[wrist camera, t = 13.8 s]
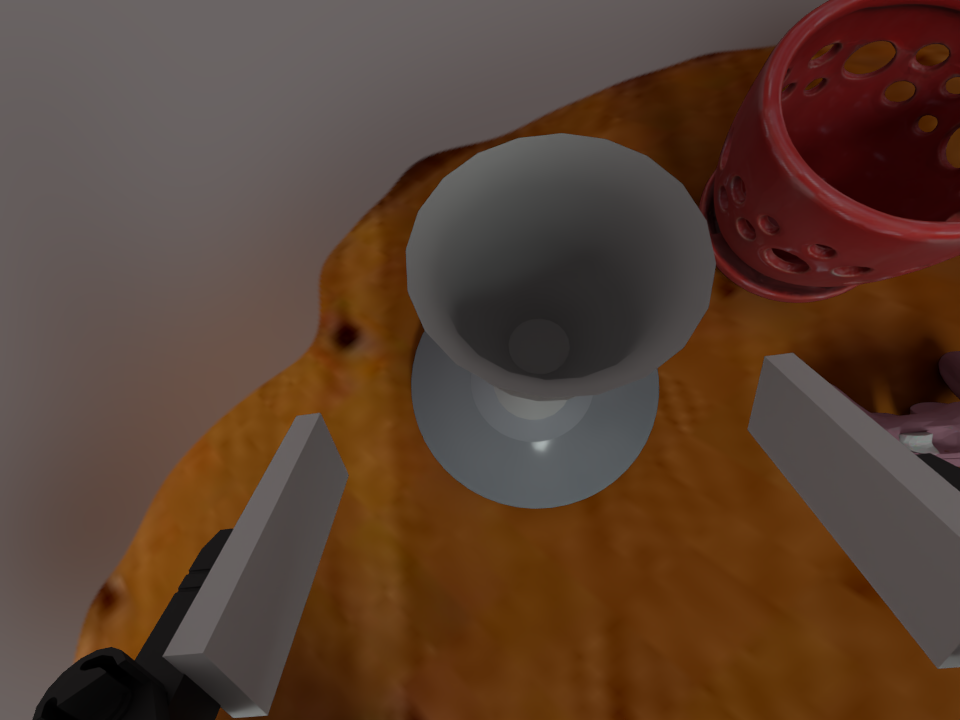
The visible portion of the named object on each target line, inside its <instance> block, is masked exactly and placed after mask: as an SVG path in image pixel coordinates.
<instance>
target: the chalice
mask: <svg viewBox="0 0 960 720" xmlns="http://www.w3.org/2000/svg"><path fill="white" fill-rule="evenodd" d="M406 265H407V285H408V293H409V296H410V298H411V300H412V302H413V305H414V307H415V309H416V312H417V314H418V316H419V318H420V321H421V323H422V325H423V328H424V330H425V332H426V333H427V334H428V335H429V336H430V337H431V338H432V339H433V340H434V341H435V342H436V343H437V344H438V345H439V346H440V348H441V349H442V350H443V351H444V352H445V353H446V354H447V355H448V356H449V357H450V358H451V359H452V360H453V361H454V362H455V364H457V365H459V366H460V367H462V368H464V369H466V370H468V371H469V372H471V373H473V374H475V375H477V376H478V377H480V378H482V379H484V380H485V381H486V382H488V383H489V384H491V385H493V386H494V391H495V393H496V395H497V398H498V400H499V402H500V403H501V404H502V405H503V406H504V408H505V409H506V410H507V411H509V412H510V413H512V414H514V415H515V416H517V417H520V418H524V419H528V420H537V419H544V418H546V417H549V416H551V415H554V414H555V413H556V412H558V411H559V410H560V409H561V408H562V407H563V406H564V405H565V403H566V401H567V400H568V399H571V398H574V397H576V396H588V395H599V394H602V393H604V392H607V391H610V390H612V389H615V388H618V387H621V386H623V385H626V384H629V383H632V382H634V381H637V380H640V379H643V378H645V377H647V376H648V375H649V374H650V373H652V372H653V371H654V370H655V369H657V368H658V367H659V366H661V365H662V364H663V363H664V362H666V361H667V360H668V359H670V358H671V357H672V356H673V355H675V354H676V353H677V352H678V351H680V350H681V349H682V348H684V346H685V345H686V343H687V341H688V340H689V338H690V337H691V335H692V333H693V332H694V330H695V329H696V327H697V325H698V324H699V322H700V320H701V319H702V317H703V316H704V314H705V312H706V311H707V309H708V307H709V302H710V296H711V290H712V284H713V279H714V273H715V267H716V261H715V256H714V252H713V247H712V243H711V238H710V234H709V229H708V225H707V220H706V219H705V217H704V216H703V214H702V213H701V211H700V210H699V208H698V207H697V205H696V204H695V202H694V201H693V199H692V198H691V196H690V195H689V193H688V191H687V190H686V188H685V187H684V185H683V184H682V183H681V182H680V181H678V180H677V179H676V178H675V177H673V176H672V175H671V174H669V173H668V172H667V171H666V170H664V169H663V168H662V167H661V166H659V165H658V164H657V163H656V162H654V161H653V160H652V159H651V158H649V157H648V156H646V155H643V154H641V153H639V152H636V151H634V150H631V149H629V148H626V147H624V146H621V145H619V144H617V143H614V142H612V141H609V140H607V139H601V138H593V137H586V136H578V135H571V134H564V133H560V134H551V135H542V136H533V137H524V138H517V139H515V140H512V141H509V142H507V143H504V144H501V145H499V146H496V147H493V148H491V149H488V150H485V151H483V152H480V153H477V154H476V155H475V156H473V157H472V158H471V159H469V160H468V161H466V162H465V163H464V164H462V165H461V166H459V167H458V168H457V169H455V170H454V171H453V172H451V173H450V174H448V175H447V176H446V177H444V178H443V179H442V181H441V182H440V183H439V185H438V186H437V187H436V189H435V190H434V191H433V193H432V194H431V195H430V197H429V198H428V199H427V201H426V202H425V203H424V205H423V206H422V207H421V208H420V210H419V211H418V214H417V217H416V220H415V223H414V226H413V230H412V233H411V236H410V239H409V242H408V245H407V248H406Z"/></svg>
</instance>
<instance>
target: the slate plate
mask: <svg viewBox="0 0 960 720" xmlns="http://www.w3.org/2000/svg"><path fill="white" fill-rule="evenodd" d="M411 388H412V401H413V407H414V413H415V416H416V420H417V423H418V426H419V429H420V431H421V433H422V436H423V438H424V440H425V442H426V444H427V446H428V447H429V449H430V450H431V452H432V454H433V455H434V457H435V458H436V459H437V460H438V461H439V463H440V464H441V465H442V466H443V468H444V469H445V470H446V471H447V472H448V473H450V474H451V475H452V476H453V477H454V478H455V479H456V480H457V481H459V482H460V483H461V484H463V485H464V486H466V487H467V488H468V489H470V490H472V491H474V492H475V493H477V494H479V495H481V496H483V497H485V498H488V499H490V500H493V501H496V502H498V503H501V504H506V505H510V506H515V507H522V508H534V509H535V508H552V507H558V506H563V505H568V504H571V503H574V502H577V501H580V500H583V499H586V498H588V497H590V496H592V495H594V494H596V493H597V492H599V491H601V490H603V489H604V488H605V487H607V486H608V485H610V484H611V483H613V482H614V481H615V480H616V479H617V478H618V477H620V476H621V475H622V474H623V473H624V472H625V471H626V470H627V469H628V468H629V466H630V465H631V464H632V463H633V462H634V460H635V459H636V458H637V457H638V455H639V453H640V452H641V450H642V448H643V447H644V445H645V443H646V441H647V439H648V437H649V434H650V432H651V430H652V427H653V424H654V420H655V416H656V412H657V406H658V398H659V377H658V370H657V369H655V370H654V371H653V372H652V373H650V374H649V375H648V376H647V377H645V378H643V379H640V380H637V381H634V382H632V383H629V384H626V385H623V386H621V387H618V388H615V389H612V390H610V391H607V392H604V393H602V394H599V395H588V396H576V397H574V398H571V399H568V400H567V401H566V403H565V405H564V406H563V407H562V408H561V409H560V410H559V411H558V412H556V413H555V414H554V415H551V416H549V417H546V418H544V419H537V420H528V419H524V418H520V417H517V416H515V415H514V414H512V413H510V412H509V411H507V410H506V409H505V408H504V406H503V405H502V404H501V403H500V402H499V400H498V398H497V395H496V393H495V391H494V386H493V385H491V384H489V383H488V382H486V381H485V380H484V379H482V378H480V377H478V376H477V375H475V374H473V373H471V372H469V371H468V370H466V369H464V368H462V367H460V366H459V365H457V364H455V362H454V361H453V360H452V359H451V358H450V357H449V356H448V355H447V354H446V353H445V352H444V351H443V350H442V349H441V348H440V346H439V345H438V344H437V343H436V342H435V341H434V340H433V339H432V338H431V337H430V336H429V335H428V334H427V333H426V332H425V331H424V333H423V335H422V337H421V340H420V342H419V345H418V348H417V350H416V354H415V359H414V363H413V369H412V379H411Z"/></svg>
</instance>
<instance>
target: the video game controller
mask: <svg viewBox="0 0 960 720" xmlns="http://www.w3.org/2000/svg"><path fill="white" fill-rule="evenodd" d="M938 364H939V371H940V375H941V376H942V378H943V380H944V382H945V383H946V384H947V386H948V387H949V388H950V390H951V391H952V392H953V393H954V394H955V395H956V396H957V397H958V398H959V399H960V351H955V352H949V353H946V354H944V355H943V356H942V357H941V359H940V361H939V363H938ZM831 385H832V384H831ZM832 386H833V387H834V388H836V389H837V390H838V391H839V392H840V393H842V394H843V395H844V396H845V397H846V398H848V399H849V400H850V401H851V402H852V403H854V404H855V405H856V406H857V407H859V408H860V409H861V410H862V411H863V412H865V413H866V414H867V415H868V416H869V417H871V418H872V419H873V420H874V421H875V422H877V423H878V424H879V425H880V426H881V427H883V428H884V429H885V430H886V431H887V432H889V433H890V434H891V435H892V436H893V437H895V438H896V439H897V440H898V441H899V442H901V443H902V444H903V445H904V446H905V447H907V448H908V449H909V450H910V451H911V452H913V453H914V454H924V453H931V454H933V455H935V456H937V457H939V458H941V459H943V460H945V461H947V462H949V463H951V464H953V465H955V466H957V467H960V402H954V403H950V404H945V403H937V402H925V403H918V404H915V405H913V406H911V407H910V415H902V416H897V415H894V414H888V413H870V412H868V411H867V410H866V409H864V408H863V407H861V406H860V405H858V404H857V403H856V402H854V401H853V400H852V399H851V398H850V397H848V396H847V395H846V394H845V393H844V392H842V391H841V390H840V389H838V388H837V387H836V386H834V385H832Z"/></svg>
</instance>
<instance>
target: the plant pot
mask: <svg viewBox="0 0 960 720" xmlns="http://www.w3.org/2000/svg"><path fill="white" fill-rule="evenodd" d="M875 41H888V42H890V43H892V45H893V46H894V48H895V49H896V54H895V56H894V57H893V58H892V60H891V61H890V62H889V63H888V64H886V65H885V66H884V67H882V68H880V69H878V70H876V71H874V72H871V73H867V74H852V73H849V72H848V71H846V70H845V69H844V64H845V62H846V60H847V59H848V58H849V57H850V55H851V54H853V53H854V52H855V51H856V50H858V49H859V48H861V47H862V46H864V45H866V44H868V43H871V42H875ZM830 44H834V46H833V47H832V48H831V49H830V50H829V51H828V52H827V53H825V54H824V55H822V56H821V57H818V58H816V59H814V60H811V58H812V57H813V56H814V55H815V54H816V53H817V52H818V51H819V50H820V49H822V48H823V47H825V46H827V45H830ZM930 44H942V45H944V46H946V47H947V48H948V49H949V53H950V54H949V56H948V58H947V59H946V60H945V61H943V62H942V63H939V64H937V65H934V66H924V65H921V64H919V63H918V62H917V61H916V54H917V52H918V51H919V50H920V49H921V48H923V47H925V46H927V45H930ZM953 77H960V0H829V1H827V2H825V3H824V4H822V5H821V6H819V7H817V8H816V9H814V10H813V11H811V12H810V13H809V14H807V15H806V16H804V17H803V18H802V19H801V20H800V21H799V22H797V23H796V24H795V25H794V26H793V27H792V28H791V29H790V30H789V31H788V32H787V33H786V34H785V36H784V37H783V38H782V39H781V40H780V42H779V43H778V44H777V46H776V47H775V48H774V50H773V52H772V53H771V55H770V56H769V58H768V59H767V61H766V63H765V65H764V66H763V68H762V70H761V71H760V73H759V75H758V76H757V78H756V80H755V81H754V83H753V85H752V87H751V88H750V90H749V92H748V94H747V95H746V97H745V99H744V101H743V103H742V105H741V107H740V109H739V110H738V113H737V115H736V117H735V119H734V121H733V123H732V125H731V128H730V130H729V132H728V135H727V137H726V140H725V143H724V145H723V148H722V151H721V154H720V158H719V161H718V165H717V169H716V170H715V171H714V173H713V174H712V176H711V177H710V179H709V180H708V182H707V184H706V186H705V188H704V190H703V193H702V197H701V200H700V205H699V210H700V211H701V213H702V214H703V216H704V217H705V219H706V220H707V225H708V229H709V234H710V238H711V243H712V247H713V252H714V256H715V261H716V266H717V268H718V269H719V270H720V271H721V272H722V273H723V274H724V275H725V276H726V277H727V278H729V279H730V280H731V281H733V282H734V283H735V284H737V285H739V286H740V287H742V288H743V289H745V290H747V291H749V292H751V293H753V294H756V295H758V296H761V297H764V298H767V299H771V300H776V301H781V302H793V303H801V302H813V301H819V300H824V299H828V298H831V297H834V296H837V295H840V294H842V293H845V292H847V291H849V290H851V289H853V288H854V287H856V286H858V285H859V284H864V283H870V282H876V281H880V280H885V279H889V278H892V277H896V276H900V275H904V274H907V273H911V272H914V271H917V270H921V269H923V268H926V267H929V266H932V265H935V264H937V263H940V262H943V261H945V260H948V259H950V258H953V257H955V256H958V255H960V168H954V167H953V166H952V165H951V164H950V163H949V162H948V161H947V158H946V147H947V143H948V141H949V139H950V137H951V135H952V134H953V133H954V132H955V131H956V130H957V129H958V128H960V94H952V93H949V92H948V91H947V90H946V87H945V85H946V82H947V81H948V80H949V79H951V78H953ZM818 78H823V80H822V81H821V82H820V83H819V84H818V85H817V86H816V87H814V88H812V89H810V90H805V88H806V87H807V86H808V85H809V84H810V83H811V82H812V81H813V80H815V79H818ZM897 81H908V82H911V83H912V84H913V85H914V86H915V88H916V90H915V93H914V95H913V96H912V97H911V98H909V99H908V100H906V101H902V102H892V101H889V100H888V99H887V98H886V97H885V91H886V89H887V87H888V86H890V85H891V84H893V83H895V82H897ZM787 85H789V86H788V87H787V88H786V89H785V90H784V91H783V92H782V89H783V88H784V87H786V86H787ZM925 115H932V116H934V117H936V118H937V120H938V124H937V126H936V128H935V129H934V130H933V131H931V132H924V131H922V130H920V128H919V127H918V122H919V120H920V119H921V117H922V116H925Z"/></svg>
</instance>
